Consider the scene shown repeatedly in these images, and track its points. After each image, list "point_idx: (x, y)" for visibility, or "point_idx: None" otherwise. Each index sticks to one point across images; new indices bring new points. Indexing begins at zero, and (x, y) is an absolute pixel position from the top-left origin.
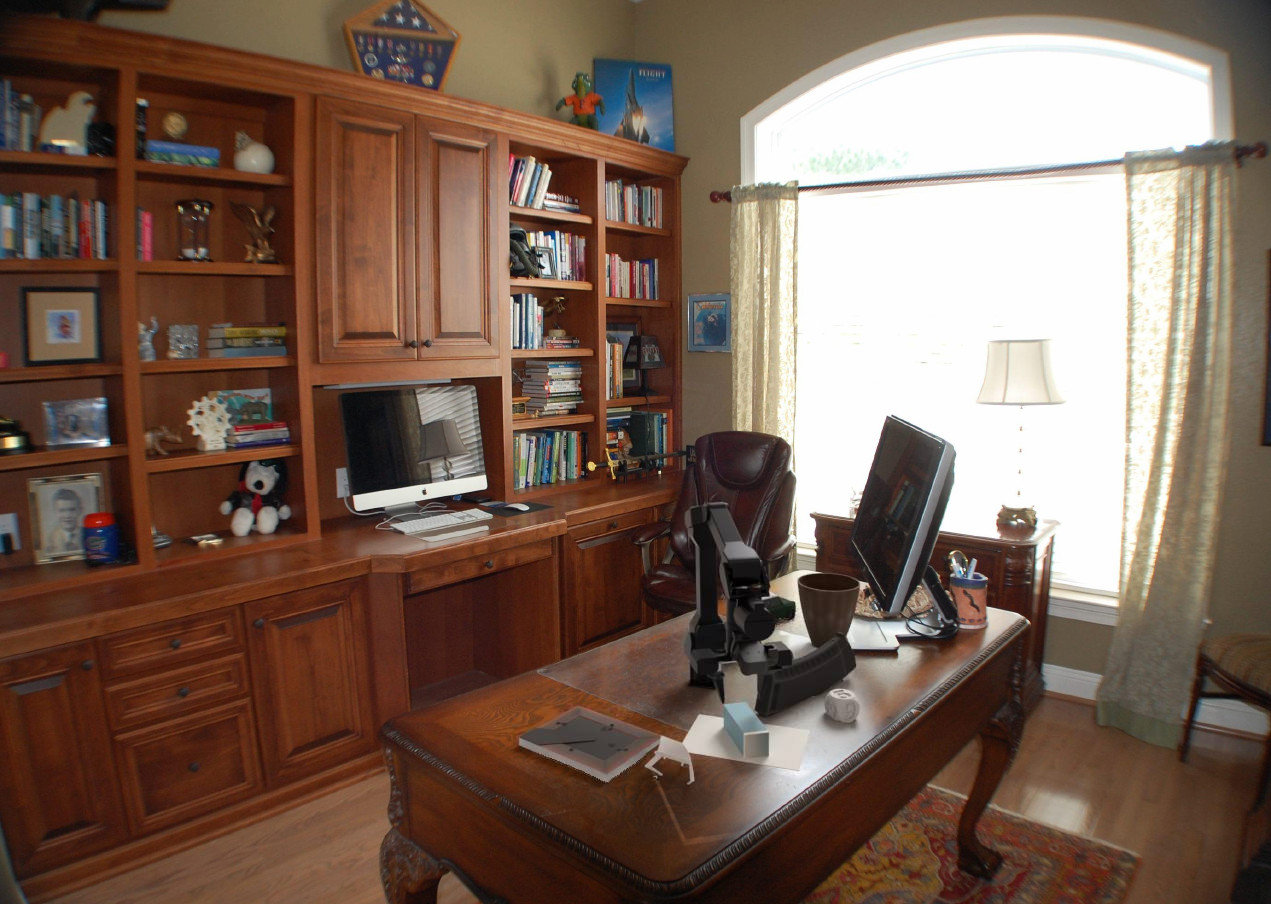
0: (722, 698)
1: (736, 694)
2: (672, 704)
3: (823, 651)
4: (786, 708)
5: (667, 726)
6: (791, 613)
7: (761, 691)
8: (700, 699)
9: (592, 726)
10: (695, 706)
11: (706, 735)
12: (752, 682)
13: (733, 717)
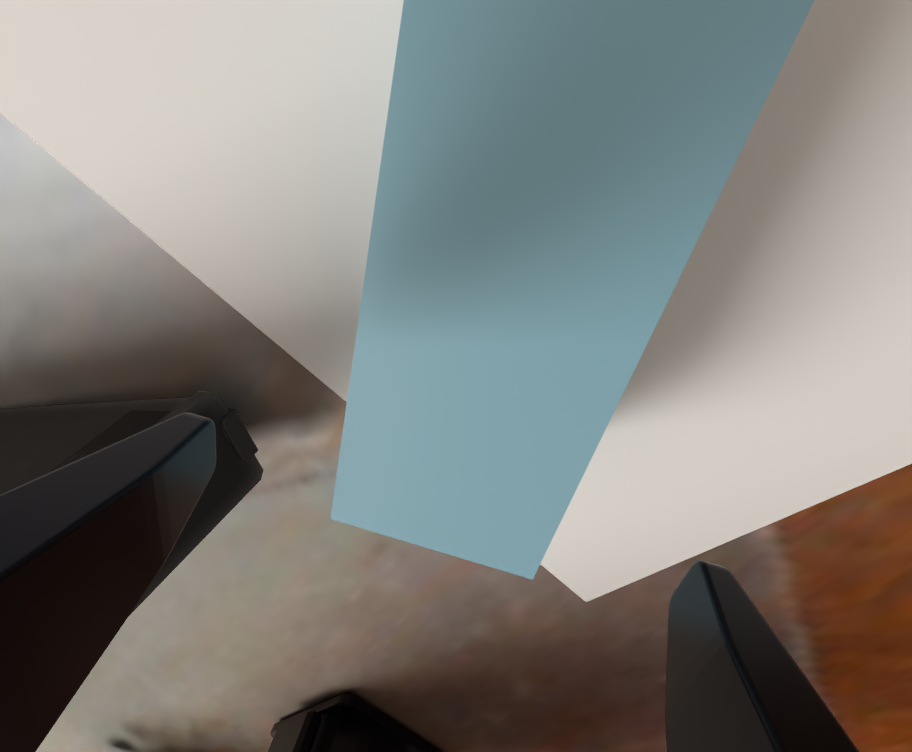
0: (759, 634)
1: (276, 625)
2: (620, 711)
3: None
4: (62, 406)
5: (828, 608)
6: None
7: (121, 481)
8: (464, 676)
9: None
10: (528, 653)
11: (745, 413)
12: (164, 649)
13: (624, 369)
